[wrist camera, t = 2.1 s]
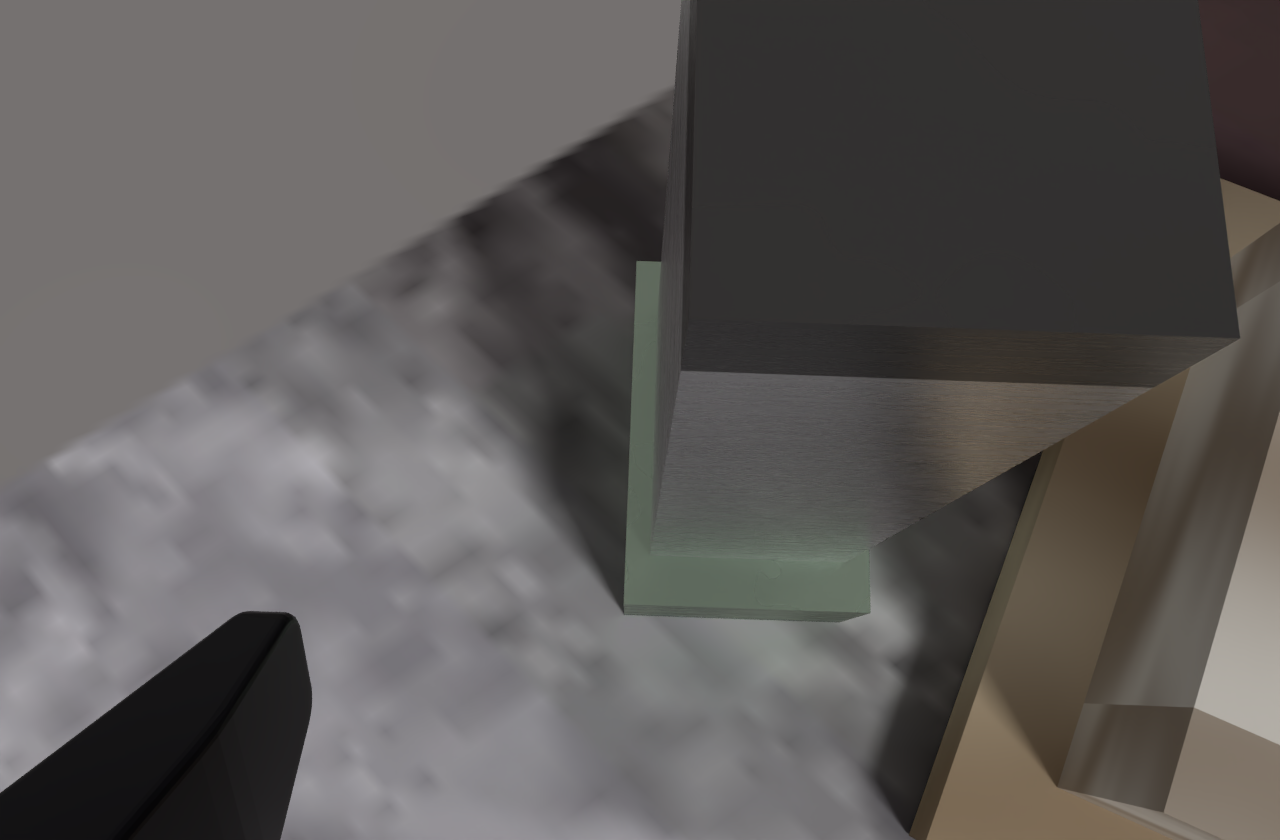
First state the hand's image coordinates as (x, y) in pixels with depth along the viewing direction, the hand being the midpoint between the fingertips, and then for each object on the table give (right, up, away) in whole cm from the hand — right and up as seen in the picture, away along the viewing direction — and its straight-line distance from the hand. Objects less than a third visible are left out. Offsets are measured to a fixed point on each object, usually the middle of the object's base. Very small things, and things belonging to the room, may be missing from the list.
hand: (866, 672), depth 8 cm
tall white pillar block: (0, +1, +12) cm, 12 cm away
